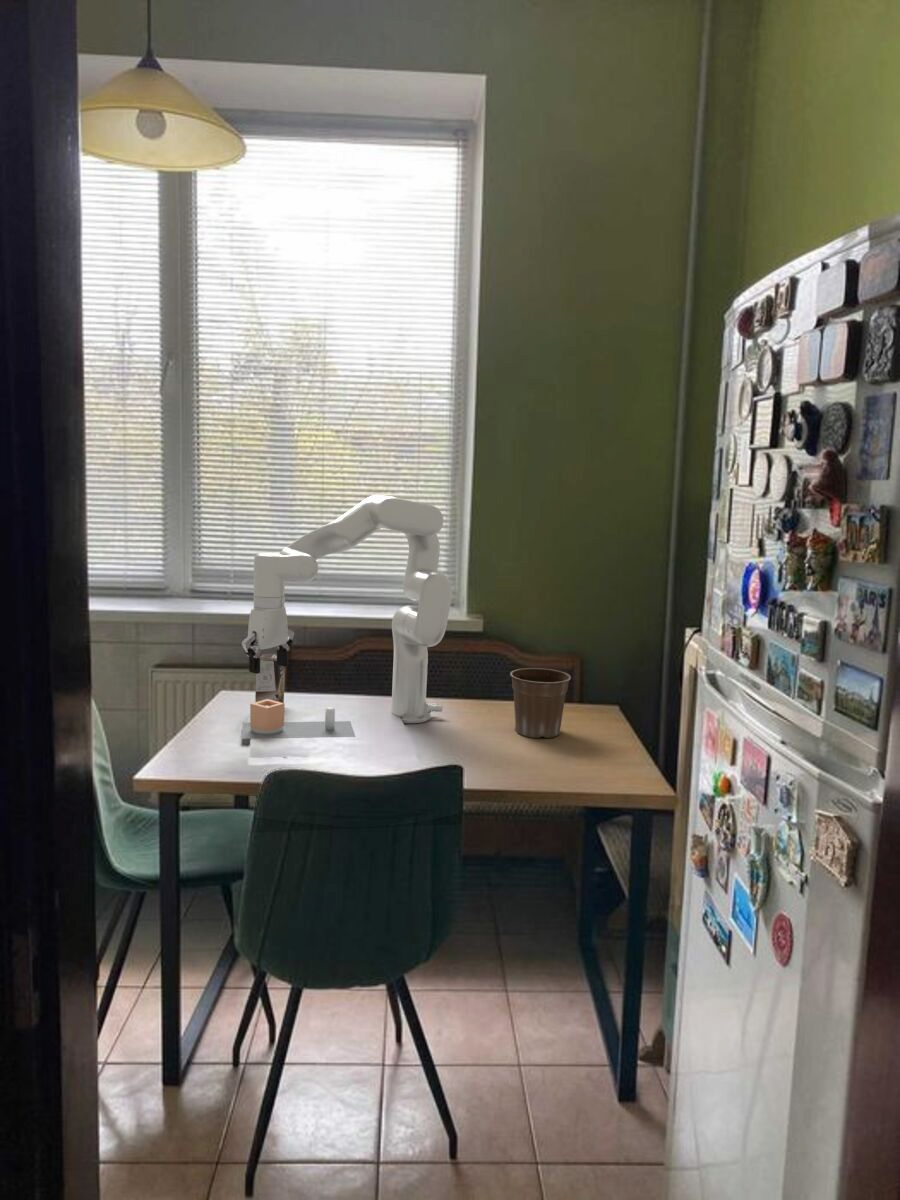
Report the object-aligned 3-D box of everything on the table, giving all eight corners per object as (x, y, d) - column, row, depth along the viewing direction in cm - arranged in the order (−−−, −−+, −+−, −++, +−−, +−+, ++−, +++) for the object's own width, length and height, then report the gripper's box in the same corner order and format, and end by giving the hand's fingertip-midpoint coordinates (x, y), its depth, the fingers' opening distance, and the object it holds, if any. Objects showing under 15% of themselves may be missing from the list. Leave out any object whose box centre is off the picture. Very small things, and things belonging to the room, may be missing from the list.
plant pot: (497, 734, 234) (500, 675, 231) (520, 719, 248) (524, 664, 245) (553, 745, 226) (558, 685, 224) (574, 730, 240) (579, 673, 238)
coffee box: (277, 718, 237) (278, 660, 235) (254, 717, 238) (255, 659, 235) (284, 709, 246) (285, 653, 244) (262, 707, 247) (263, 652, 244)
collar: (267, 721, 226) (267, 698, 225) (284, 726, 223) (284, 703, 222) (250, 726, 221) (250, 703, 220) (267, 731, 218) (267, 708, 217)
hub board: (350, 726, 233) (351, 699, 232) (355, 742, 221) (356, 713, 220) (242, 728, 227) (243, 700, 226) (242, 744, 215) (242, 715, 214)
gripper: (282, 596, 226) (281, 660, 229) (232, 604, 212) (232, 673, 215) (303, 600, 222) (303, 665, 225) (254, 608, 208) (254, 678, 211)
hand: (268, 669), depth 220 cm, fingers open, 9 cm apart
